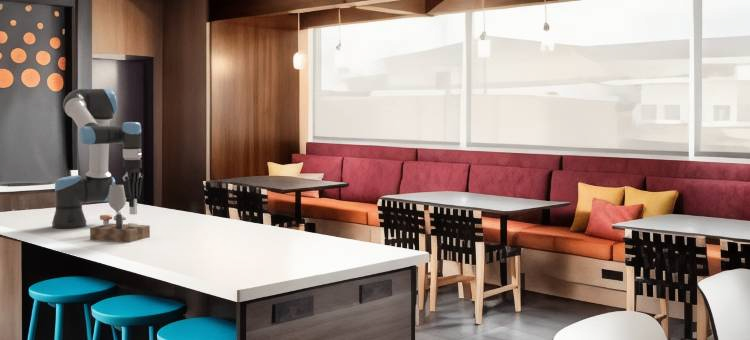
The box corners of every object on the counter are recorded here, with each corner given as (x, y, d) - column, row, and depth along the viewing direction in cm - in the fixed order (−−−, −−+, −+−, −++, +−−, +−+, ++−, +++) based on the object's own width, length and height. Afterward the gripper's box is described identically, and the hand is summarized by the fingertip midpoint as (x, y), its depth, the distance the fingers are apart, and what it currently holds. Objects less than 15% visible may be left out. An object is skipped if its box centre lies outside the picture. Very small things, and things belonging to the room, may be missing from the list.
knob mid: (111, 231, 365) (111, 216, 364) (118, 229, 369) (118, 215, 369) (121, 231, 363) (121, 217, 363) (128, 230, 368) (128, 215, 367)
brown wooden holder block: (90, 239, 363) (89, 227, 363) (110, 234, 376) (110, 223, 376) (130, 242, 357) (130, 230, 356) (149, 237, 370) (149, 225, 369)
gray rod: (114, 229, 359) (114, 212, 358) (118, 228, 361) (118, 211, 361) (119, 229, 358) (119, 212, 358) (123, 228, 360) (122, 212, 360)
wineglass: (105, 232, 383) (104, 185, 381) (118, 230, 390) (116, 184, 388) (118, 233, 379) (116, 186, 378) (130, 231, 386) (129, 184, 384)
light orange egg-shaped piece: (97, 230, 367) (97, 216, 366) (105, 228, 372) (104, 214, 371) (107, 230, 365) (107, 216, 365) (114, 229, 370) (114, 215, 370)
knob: (125, 238, 363) (125, 223, 362) (132, 236, 367) (132, 222, 367) (135, 239, 361) (135, 224, 360) (142, 237, 366) (142, 222, 365)
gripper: (130, 160, 354) (131, 216, 356) (148, 157, 366) (149, 212, 369) (115, 159, 356) (116, 215, 359) (133, 157, 369) (134, 211, 371)
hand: (133, 214), depth 364 cm, fingers closed
